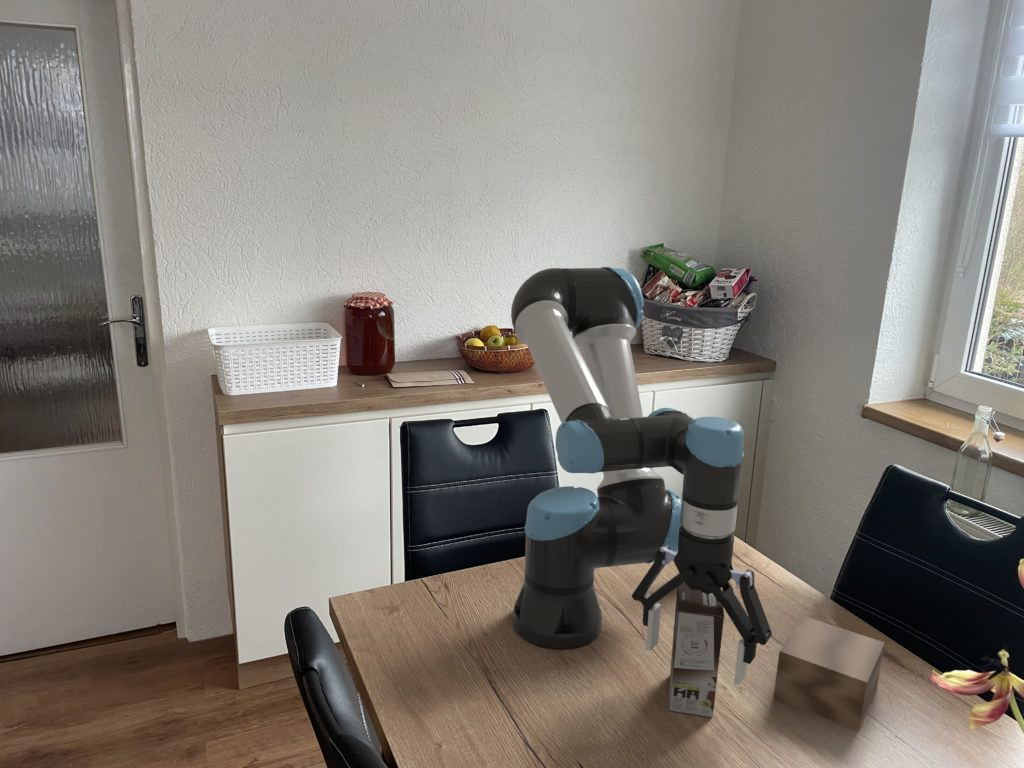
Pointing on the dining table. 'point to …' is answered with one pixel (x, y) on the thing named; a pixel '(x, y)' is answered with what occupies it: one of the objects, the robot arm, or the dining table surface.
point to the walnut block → (829, 671)
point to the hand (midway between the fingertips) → (694, 662)
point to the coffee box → (695, 651)
